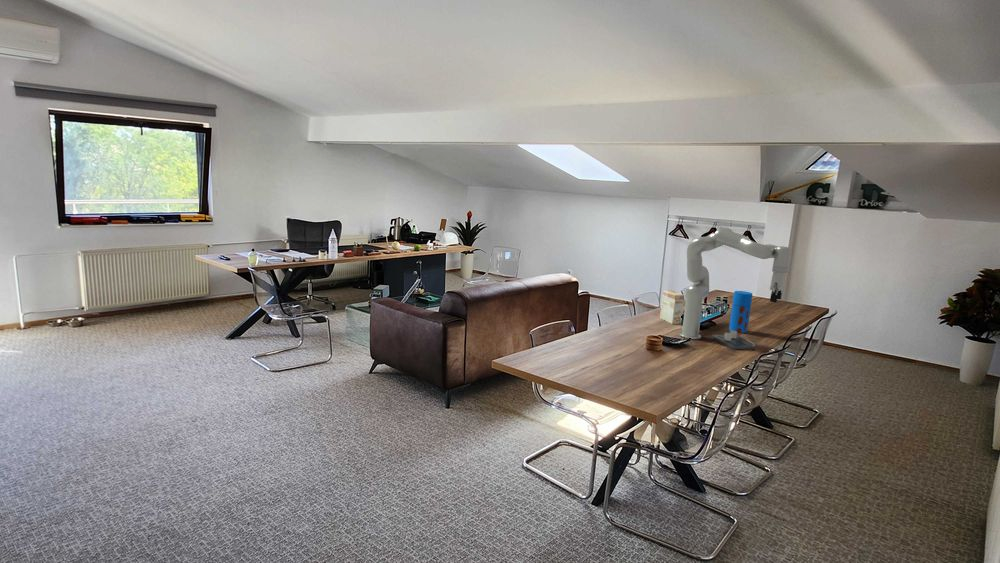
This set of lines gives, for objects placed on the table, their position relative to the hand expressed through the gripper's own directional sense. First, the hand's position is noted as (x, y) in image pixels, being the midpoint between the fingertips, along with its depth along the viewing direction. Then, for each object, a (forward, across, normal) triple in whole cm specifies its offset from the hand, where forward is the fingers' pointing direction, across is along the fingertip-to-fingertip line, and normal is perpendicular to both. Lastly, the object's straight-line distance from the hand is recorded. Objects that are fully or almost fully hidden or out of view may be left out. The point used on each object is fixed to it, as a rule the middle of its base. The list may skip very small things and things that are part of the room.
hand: (775, 300), depth 302 cm
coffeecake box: (+31, -28, -67) cm, 79 cm away
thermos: (+31, -40, -27) cm, 57 cm away
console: (+30, -6, -20) cm, 37 cm away
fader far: (+28, -11, -22) cm, 37 cm away
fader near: (+28, -3, -23) cm, 36 cm away
